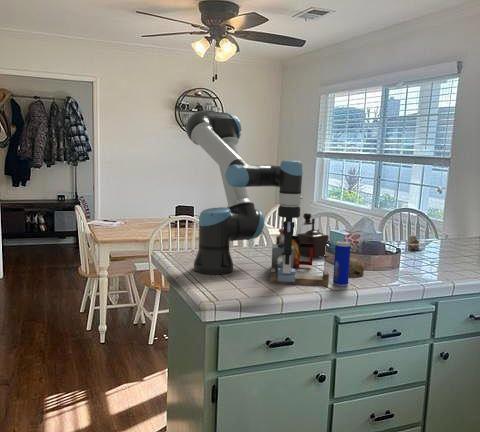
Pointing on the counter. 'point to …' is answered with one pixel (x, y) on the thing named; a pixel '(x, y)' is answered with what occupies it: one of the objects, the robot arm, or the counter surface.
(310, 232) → the manual coffee grinder
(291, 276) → the carriage
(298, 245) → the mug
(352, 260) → the bread roll
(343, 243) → the beverage can
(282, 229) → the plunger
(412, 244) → the architectural model
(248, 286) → the counter surface
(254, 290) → the counter surface
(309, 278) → the rail
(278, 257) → the grey block
